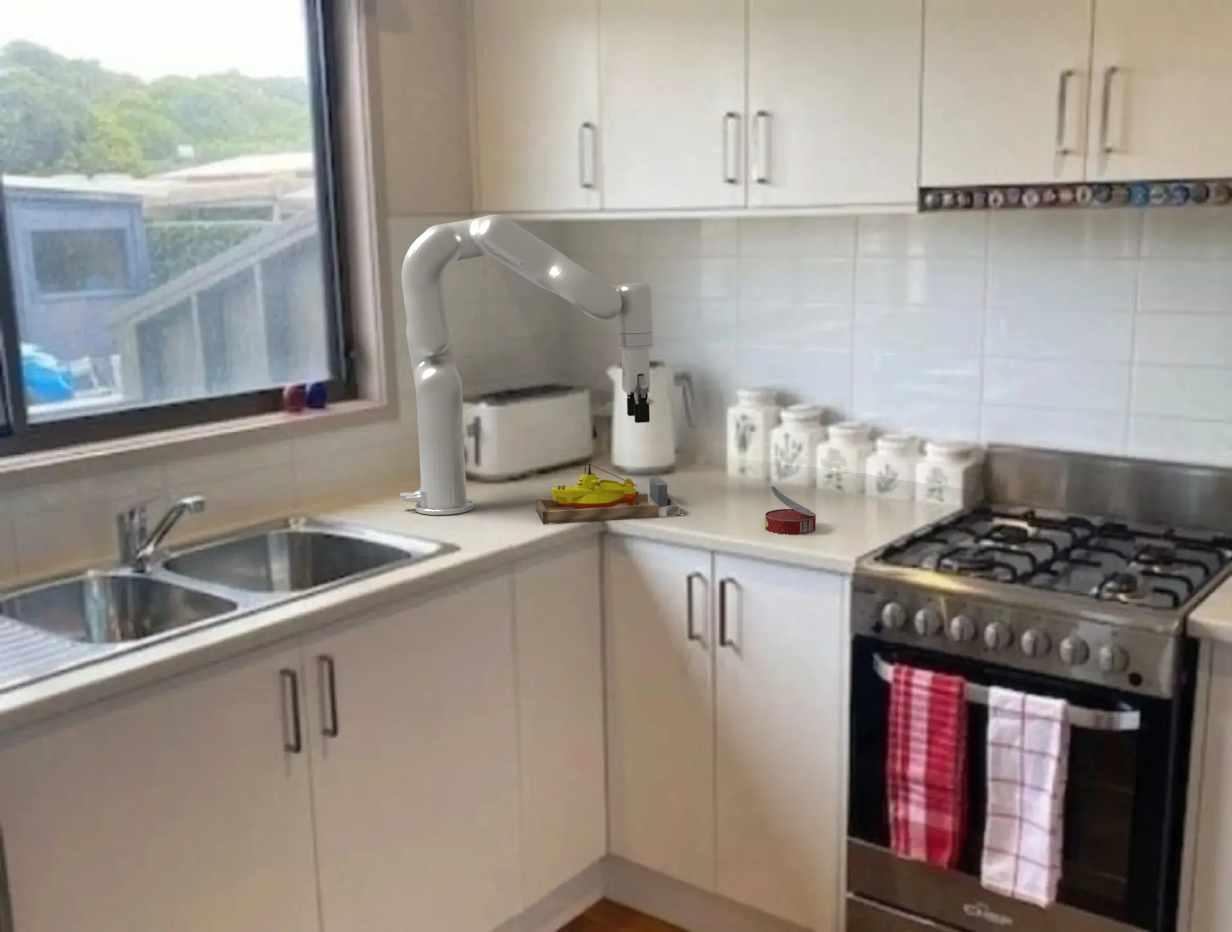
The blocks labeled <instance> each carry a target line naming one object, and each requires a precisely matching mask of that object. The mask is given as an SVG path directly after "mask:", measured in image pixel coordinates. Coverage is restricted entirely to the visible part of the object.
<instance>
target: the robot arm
mask: <svg viewBox="0 0 1232 932" xmlns="http://www.w3.org/2000/svg"><path fill="white" fill-rule="evenodd" d="M486 257H491V258H493V259H495V261H498V262H499V263H501V264H503V265H504V266H506V267H507V268H509V269H510V270H512V271H513V272H514V273H517V274H518V275H520V276H521V277H523V278H525V279H526V280H528V281H529V282H531V283H533V284H534V285H536V286H537V287H540V288H542V289H544V290H547V291H549V292H551V293H553V294H555V295H557V296H559V297H561V298H563V299H564V300H566V301H568V303H571V304H572V305H574V306H575V307H577V308H579V309H580V310H582V312H584V313H583V314H585V315H587V316H588V317H590V318H592V319H595V320H597V321H602V322H607V321H611V320H613V319H615V318H616V317H617V334H618V335H617V337H618V338H617V339H618V349H620V350H622V354H621V389H622V390H623V392H625V393H626V397H627V398H626V414H627V416H628V417H634V423H637V424H640V423H641V424H643V423H650V421H651V420H650V400H649V393H650V392H651V366H650V352H649V351H650V350H649V349H650V348H653V347H654V333H653V332H654V331H653V330H654V328H653V327H654V326H653V323H654V322H653V299H652V298H653V294H652V288H651V286H650V285H649V284H648V283H645V282H627V283H626V282H625V283H622V284H609V283H608V282H606V281H605V280H603V279H601V278H600V277H598V276H596V275H595V274H594V273H592V272H590V271H589V270H587V269H586V268H585V267H583V266H581V265H580V264H578V263H576V262H574V261H573V260H572V259H570V258H569V257H567V256H566V255H565V254H564V253H562V252H561V251H559V250H558V249H556V248H554V247H553V246H552V245H549V244H548V243H547V242H546V241H543V240H542V239H540V238H539V237H537V236H535V235H534V234H533V233H531V232H529V231H528V230H527V229H525V228H524V227H523V226H522V227H521V226H520V225H518V224H517V223H516V222H514V221H512V220H511V219H509V218H508V217H505V216H503V215H502V214H489V215H488V214H487V215H484V216H480V217H476V218H475V217H474V218H470V219H466V220H465V219H464V220H460V221H453V222H448V223H442V224H435V225H432V226H430V227H428V228H426V230H425V231H424V232H423V233H422V234H420V235H419V236H418V237H417V238H416V240H414V241H413V243H412V244H411V245H410V247H408V250H407V251H406V253H405V256H404V259H403V263H402V268H401V287H402V294H403V302H404V304H403V305H404V311H405V316H406V326H405V327H406V328H405V330H406V331H405V334H406V341H407V348H408V353H409V358H410V364H411V365H410V366H411V371H412V375H413V381H414V386H415V396H416V398H415V399H416V412H417V413H416V414H417V415H416V416H417V417H416V418H417V433H418V435H417V436H418V448H419V449H418V451H419V468H420V469H419V471H420V487H419V490H418V489H417V490H415V491H414V492H409V491H408V492H407V491H406V492H400V493H399V494H400V495H399V496H400V503H401V502H403V503H404V502H405V503H407V504H408V503H415V504H414V510H415V511H416V512H417V513H419V514H423V515H429V516H430V515H431V516H449V515H456V514H461V513H466V512H470V511H472V510H473V509H474V507H475V502H474V500H472V499H470V498H467V483H466V482H467V479H466V477H467V476H466V461H465V459H466V458H465V455H466V454H465V438H464V437H465V435H464V422H463V421H464V418H463V417H464V416H463V411H464V409H463V408H464V407H463V406H464V405H463V397H464V394H463V393H464V391H463V383H462V378H461V376H460V374H459V372H458V370H457V365H456V357H455V353H454V351H455V350H454V346H453V328H452V324H451V322H450V318H449V314H448V309H447V308H448V307H447V302H446V295H445V288H444V285H445V284H444V274H445V272H446V270H447V268H448V267H449V266H450V265H452V264H454V263H459V262H465V261H470V260H471V261H472V260H475V259H480V258H486Z"/></svg>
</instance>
